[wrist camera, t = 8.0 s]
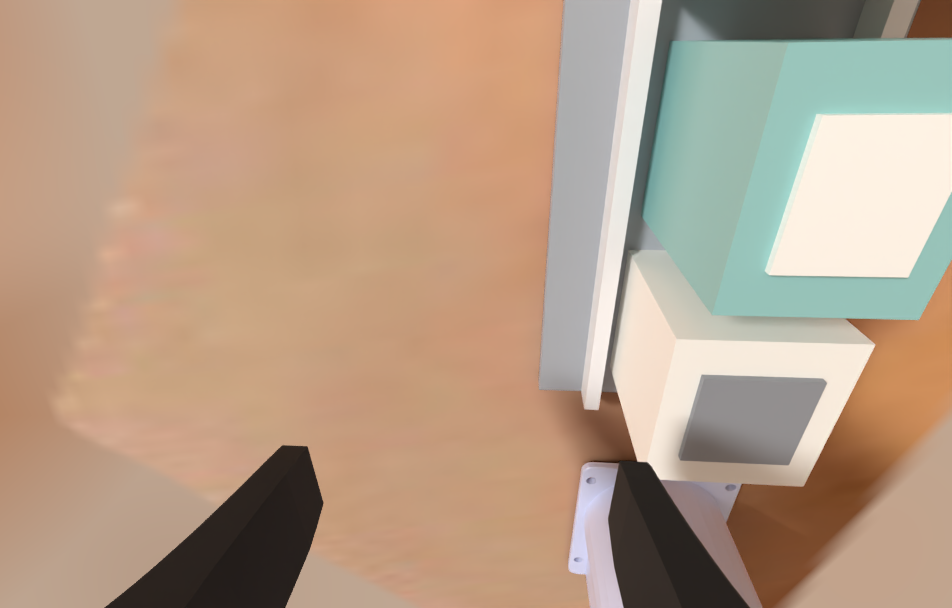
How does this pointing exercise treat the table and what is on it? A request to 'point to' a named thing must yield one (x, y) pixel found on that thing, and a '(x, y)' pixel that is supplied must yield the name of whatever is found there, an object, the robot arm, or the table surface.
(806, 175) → the block
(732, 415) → the board
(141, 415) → the table surface
